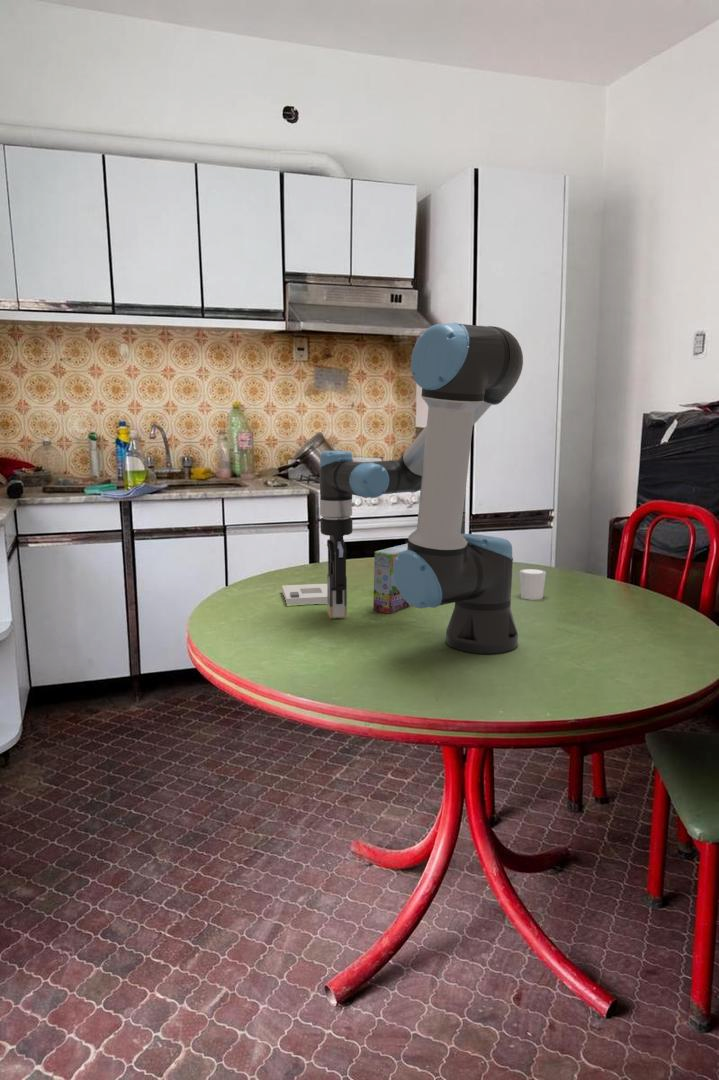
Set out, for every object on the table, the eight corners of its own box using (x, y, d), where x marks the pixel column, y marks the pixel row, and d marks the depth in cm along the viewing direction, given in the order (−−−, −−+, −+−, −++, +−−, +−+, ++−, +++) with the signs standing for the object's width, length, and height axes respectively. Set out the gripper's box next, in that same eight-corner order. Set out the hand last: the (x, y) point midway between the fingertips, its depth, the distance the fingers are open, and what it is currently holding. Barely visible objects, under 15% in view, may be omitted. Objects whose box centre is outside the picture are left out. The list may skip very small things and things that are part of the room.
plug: (346, 618, 180) (346, 577, 178) (330, 619, 179) (329, 577, 177) (343, 613, 184) (343, 573, 182) (327, 614, 183) (327, 574, 181)
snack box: (391, 615, 183) (391, 553, 180) (372, 611, 186) (372, 551, 183) (437, 597, 199) (438, 540, 197) (419, 593, 203) (419, 538, 200)
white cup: (547, 600, 195) (548, 574, 194) (521, 600, 196) (522, 574, 194) (541, 593, 202) (543, 568, 201) (516, 593, 202) (517, 568, 201)
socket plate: (341, 603, 193) (341, 593, 192) (286, 606, 190) (286, 596, 190) (333, 590, 206) (333, 580, 206) (282, 592, 204) (281, 583, 203)
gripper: (358, 522, 170) (359, 622, 174) (346, 511, 186) (346, 603, 190) (325, 523, 168) (326, 624, 172) (315, 512, 185) (316, 605, 189)
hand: (337, 613), depth 181 cm, fingers closed on plug, 4 cm apart
